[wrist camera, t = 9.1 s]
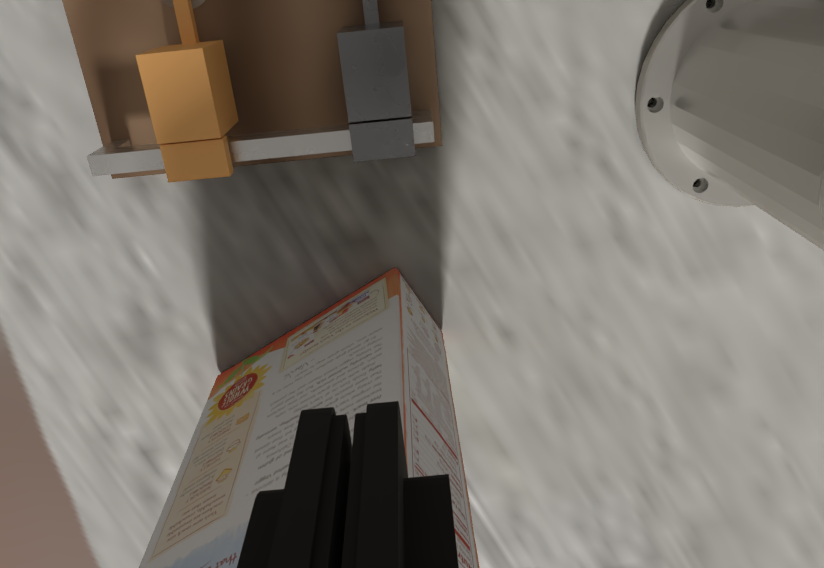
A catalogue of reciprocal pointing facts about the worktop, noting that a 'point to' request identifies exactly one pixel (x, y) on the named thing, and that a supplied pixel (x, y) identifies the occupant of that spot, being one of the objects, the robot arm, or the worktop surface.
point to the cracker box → (310, 389)
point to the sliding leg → (190, 102)
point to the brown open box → (244, 61)
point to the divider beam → (365, 134)
